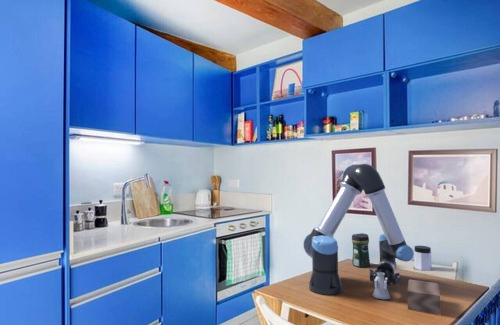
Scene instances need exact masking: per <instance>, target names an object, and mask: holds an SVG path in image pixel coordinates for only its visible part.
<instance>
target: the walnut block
mask: <svg viewBox="0 0 500 325" xmlns="http://www.w3.org/2000/svg"><path fill="white" fill-rule="evenodd" d="M406 291H407V310H411V311H416V312H422V313H427V314H428V313H429V314H434V315H439V316H441V313H442V312H441V294H440V293H441V292H440V288H439V282H432V281H423V280H416V279H410V278H409V279H408V282H407V290H406Z"/></svg>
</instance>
